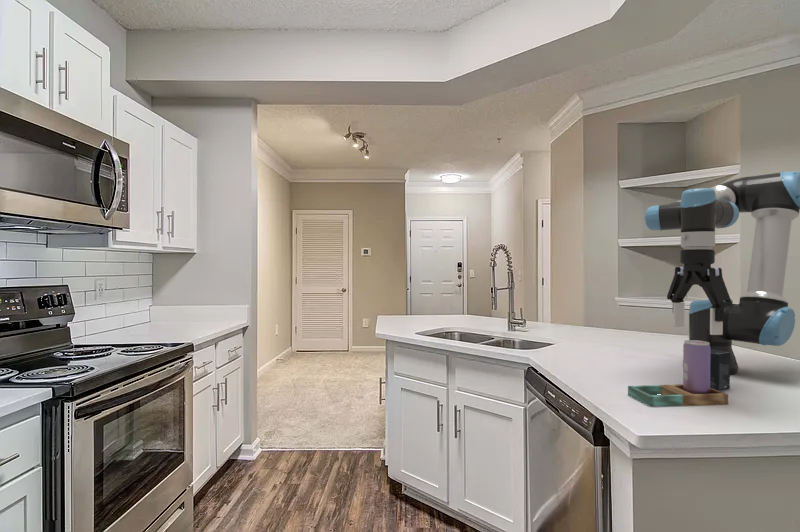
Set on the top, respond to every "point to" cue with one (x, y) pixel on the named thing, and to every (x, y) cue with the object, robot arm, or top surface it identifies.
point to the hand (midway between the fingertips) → (696, 330)
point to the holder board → (675, 396)
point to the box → (720, 370)
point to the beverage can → (696, 366)
